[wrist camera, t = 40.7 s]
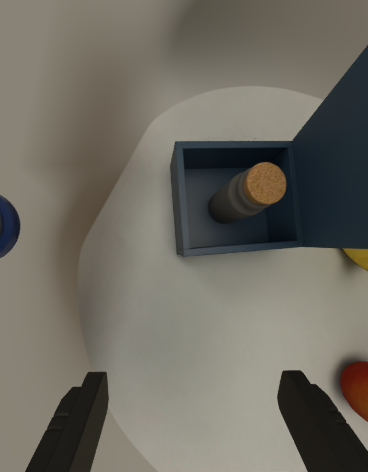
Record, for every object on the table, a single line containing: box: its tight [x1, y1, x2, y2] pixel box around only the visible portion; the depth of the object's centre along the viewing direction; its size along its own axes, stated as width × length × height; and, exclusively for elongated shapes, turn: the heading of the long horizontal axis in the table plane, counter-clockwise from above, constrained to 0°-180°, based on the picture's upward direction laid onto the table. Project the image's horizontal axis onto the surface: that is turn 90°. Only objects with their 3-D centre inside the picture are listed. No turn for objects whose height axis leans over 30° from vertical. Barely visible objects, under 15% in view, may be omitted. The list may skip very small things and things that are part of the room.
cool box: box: [170, 141, 304, 257], centre depth 35 cm, size 18×16×9 cm
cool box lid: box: [293, 45, 368, 249], centre depth 22 cm, size 19×16×5 cm
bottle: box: [208, 162, 286, 224], centre depth 31 cm, size 6×6×15 cm
